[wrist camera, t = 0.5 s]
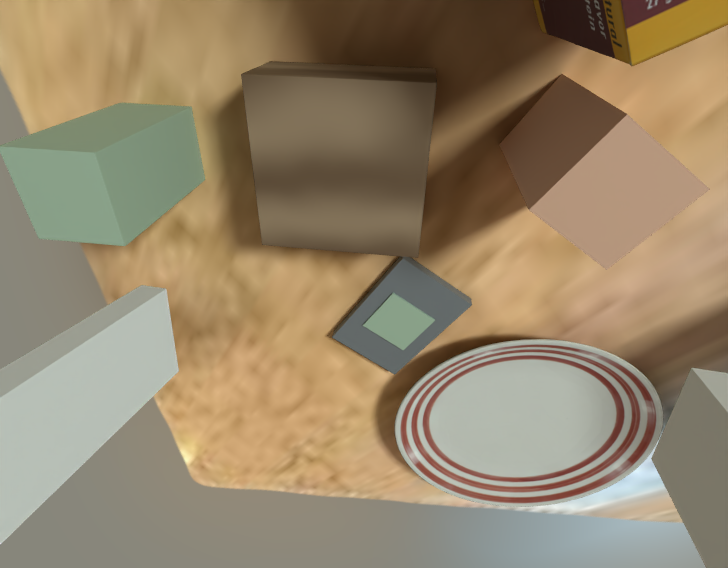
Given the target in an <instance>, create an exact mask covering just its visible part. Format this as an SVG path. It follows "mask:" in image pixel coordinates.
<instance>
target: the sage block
mask: <svg viewBox="0 0 728 568" xmlns="http://www.w3.org/2000/svg"><path fill="white" fill-rule="evenodd" d="M0 153H1V155H2V157H3V160H4V162H5V164H6V166H7V168H8V171H9V173H10V175H11V178H12V180H13V182H14V184H15V186H16V189H17V191H18V193H19V195H20V198H21V200H22V202H23V204H24V206H25V209H26V211H27V213H28V215H29V218H30V220H31V222H32V224H33V227H34V229H35V231H36V233H37V236H38V238H39V239H48V240H60V241H72V242H83V243H95V244H106V245H118V246H126V245H127V244H128V243H130V242H131V241H132V240H133V239H134V238H136V237H137V236H138V235H139V234H140V233H142V232H143V231H144V230H145V229H146V228H148V227H149V226H150V225H151V224H152V223H154V222H155V221H156V220H157V219H158V218H160V217H161V216H162V215H163V214H164V213H166V212H167V211H168V210H169V209H170V208H172V207H173V206H174V205H175V204H177V203H178V202H179V201H180V200H181V199H183V198H184V197H185V196H186V195H187V194H189V193H190V192H191V191H192V190H193V189H195V188H196V187H197V186H198V185H199V184H201V183H202V182H203V181H204V180H205V176H204V171H203V165H202V160H201V155H200V150H199V144H198V139H197V134H196V128H195V123H194V118H193V113H192V107H189V106H171V105H152V104H134V103H118V104H115V105H112V106H110V107H107V108H104V109H101V110H98V111H96V112H93V113H90V114H87V115H84V116H81V117H79V118H76V119H73V120H70V121H67V122H65V123H62V124H59V125H56V126H53V127H51V128H48V129H45V130H42V131H39V132H37V133H34V134H31V135H28V136H25V137H23V138H20V139H17V140H14V141H11V142H8V143H6V144H3V145H0Z"/></svg>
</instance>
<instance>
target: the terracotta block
mask: <svg viewBox="0 0 728 568" xmlns="http://www.w3.org/2000/svg"><path fill="white" fill-rule="evenodd" d="M499 146H500V148H501V150H502V152H503V154H504V157H505V159H506V161H507V163H508V165H509V167H510V170H511V172H512V174H513V176H514V178H515V181H516V183H517V185H518V187H519V189H520V192H521V194H522V196H523V198H524V200H525V202H526V205H527V207H528V209H529V210H530V211H531V212H532V213H534V214H535V215H536V216H537V217H539V218H540V219H541V220H543V221H544V222H545V223H546V224H548V225H549V226H550V227H552V228H553V229H554V230H556V231H557V232H558V233H559V234H561V235H562V236H563V237H565V238H566V239H567V240H569V241H570V242H571V243H572V244H574V245H575V246H576V247H578V248H579V249H580V250H582V251H583V252H584V253H585V254H587V255H588V256H589V257H591V258H592V259H593V260H595V261H596V262H597V263H598V264H600V265H601V266H602V267H604V268H605V269H606V270H607V269H608V268H610V267H611V266H612V265H614V264H615V263H616V262H617V261H619V260H620V259H621V258H623V257H624V256H625V255H626V254H628V253H629V252H630V251H631V250H633V249H634V248H635V247H637V246H638V245H639V244H640V243H642V242H643V241H644V240H646V239H647V238H648V237H649V236H651V235H652V234H653V233H655V232H656V231H657V230H658V229H660V228H661V227H662V226H663V225H665V224H666V223H667V222H669V221H670V220H671V219H672V218H674V217H675V216H676V215H678V214H679V213H680V212H681V211H683V210H684V209H685V208H687V207H688V206H689V205H690V204H692V203H693V202H694V201H696V200H697V199H698V198H699V197H701V196H702V195H703V194H704V193H706V192H707V191H708V190H710V189H709V188H708V187H707V186H706V185H705V184H704V183H703V182H702V181H701V180H699V179H698V178H697V177H696V176H695V175H694V174H693V173H692V172H691V171H689V170H688V169H687V168H686V167H685V166H684V165H683V164H682V163H681V162H679V161H678V160H677V159H676V158H675V157H674V156H673V155H672V154H671V153H669V152H668V151H667V150H666V149H665V148H664V147H663V146H662V145H661V144H660V143H658V142H657V141H656V140H655V139H654V138H653V137H652V136H651V135H650V134H648V133H647V132H646V131H645V130H644V129H643V128H642V127H641V126H640V125H638V124H637V123H636V122H635V121H634V120H633V119H632V118H631V117H630V116H629V115H627V114H626V113H624V112H623V111H621V110H619V109H618V108H616V107H615V106H613V105H611V104H610V103H608V102H606V101H605V100H603V99H602V98H600V97H598V96H597V95H595V94H594V93H592V92H590V91H589V90H587V89H585V88H584V87H582V86H581V85H579V84H577V83H576V82H574V81H573V80H571V79H569V78H568V77H566V76H564V75H563V74H561V75H560V77H559V78H558V79H557V80H556V81H555V82H554V83H553V84H552V86H551V87H550V88H549V89H548V90H547V91H546V92H545V93H544V95H543V96H542V97H541V98H540V99H539V100H538V101H537V102H536V104H535V105H534V106H533V107H532V108H531V109H530V110H529V111H528V113H527V114H526V115H525V116H524V117H523V118H522V119H521V121H520V122H519V123H518V124H517V125H516V126H515V127H514V128H513V130H512V131H511V132H510V133H509V134H508V135H507V136H506V137H505V139H504V140H503V141H502V142H501V143H500V144H499Z"/></svg>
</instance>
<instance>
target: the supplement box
mask: <svg viewBox="0 0 728 568" xmlns="http://www.w3.org/2000/svg"><path fill="white" fill-rule="evenodd" d="M533 2H534V6H535V10H536V14H537V18H538V22H539V25H540V28H541V31H542V32H543V33H546V34H549V35H553V36H556V37H558V38H561V39H564V40H567V41H569V42H572V43H574V44H576V45H579V46H582V47H585V48H588V49H590V50H593V51H596V52H598V53H601V54H604V55H606V56H609V57H612V58H615V59H617V60H620V61H622V62H625V63H628V64H630V65H631V66H634V65H637V64H639V63H641V62H644V61H646V60H648V59H651V58H653V57H655V56H658V55H660V54H662V53H665V52H667V51H669V50H672V49H674V48H676V47H679V46H681V45H683V44H685V43H688V42H690V41H692V40H694V39H697V38H699V37H701V36H703V35H706V34H708V33H710V32H712V31H715V30H717V29H719V28H722V27H724V26H726V25H728V0H533Z"/></svg>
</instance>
